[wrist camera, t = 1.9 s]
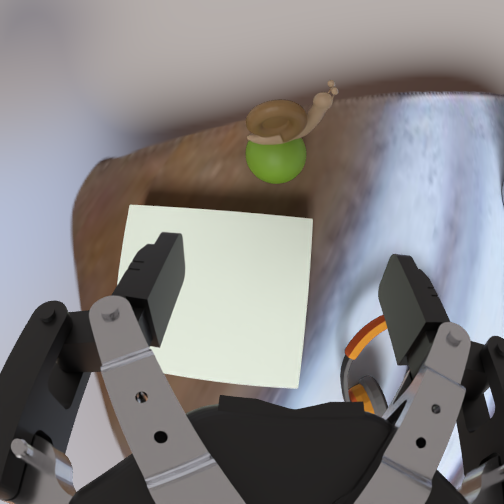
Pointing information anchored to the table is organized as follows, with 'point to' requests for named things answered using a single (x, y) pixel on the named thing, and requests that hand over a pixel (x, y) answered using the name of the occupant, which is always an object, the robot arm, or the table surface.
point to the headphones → (367, 385)
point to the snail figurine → (282, 136)
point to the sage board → (231, 293)
